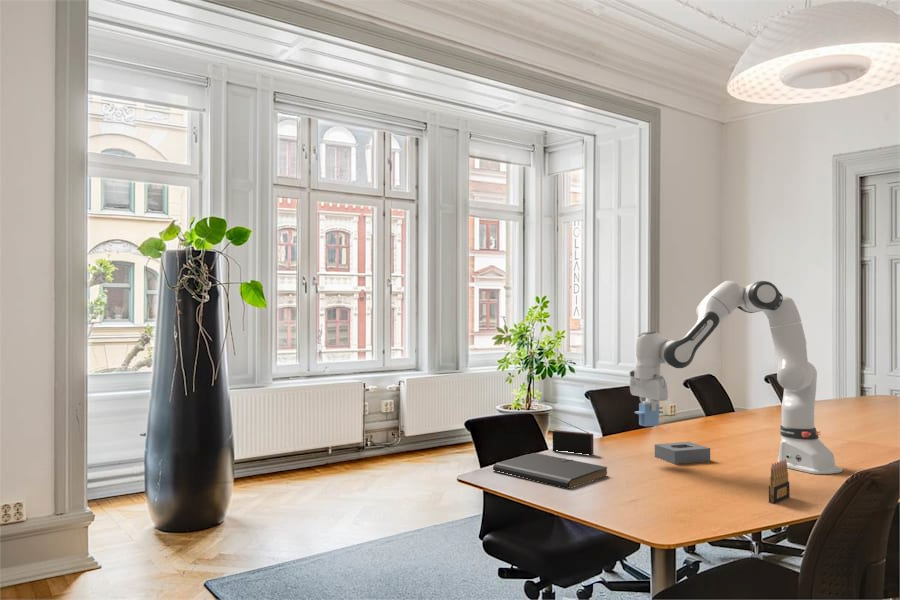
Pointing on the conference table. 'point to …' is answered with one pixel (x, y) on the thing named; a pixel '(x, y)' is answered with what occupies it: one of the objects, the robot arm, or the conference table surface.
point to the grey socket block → (682, 452)
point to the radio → (573, 441)
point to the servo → (648, 414)
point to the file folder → (551, 469)
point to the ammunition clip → (779, 482)
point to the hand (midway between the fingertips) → (648, 409)
